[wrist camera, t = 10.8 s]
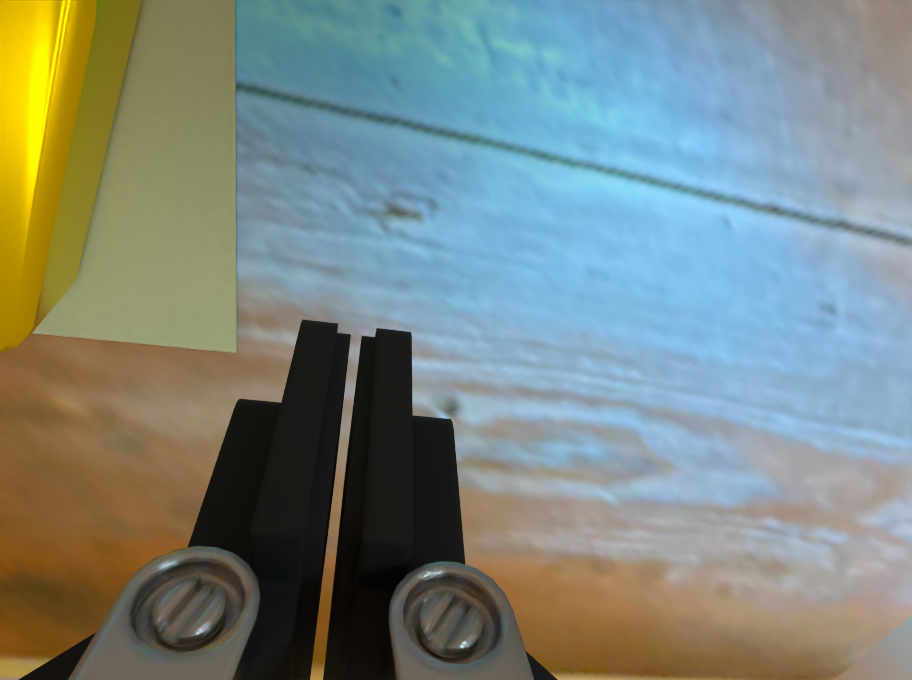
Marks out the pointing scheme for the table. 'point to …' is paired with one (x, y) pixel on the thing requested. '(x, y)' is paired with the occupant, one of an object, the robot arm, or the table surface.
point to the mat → (165, 192)
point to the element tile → (53, 143)
